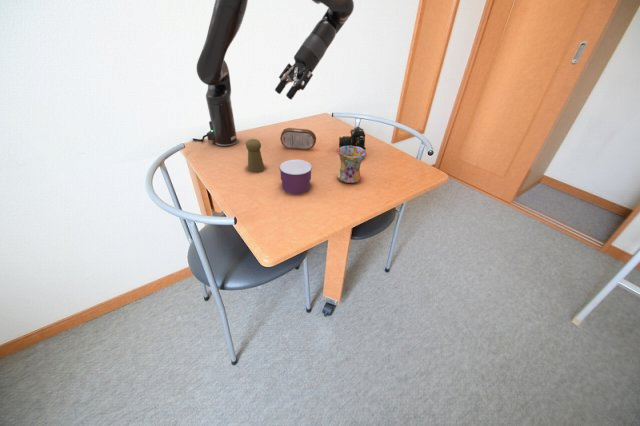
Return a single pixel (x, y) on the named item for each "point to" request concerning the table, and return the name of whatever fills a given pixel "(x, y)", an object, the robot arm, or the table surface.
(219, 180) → the table surface
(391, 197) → the table surface
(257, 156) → the olive green pawn
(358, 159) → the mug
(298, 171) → the yogurt tub
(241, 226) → the table surface
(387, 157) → the table surface
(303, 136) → the tin
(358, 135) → the film camera
